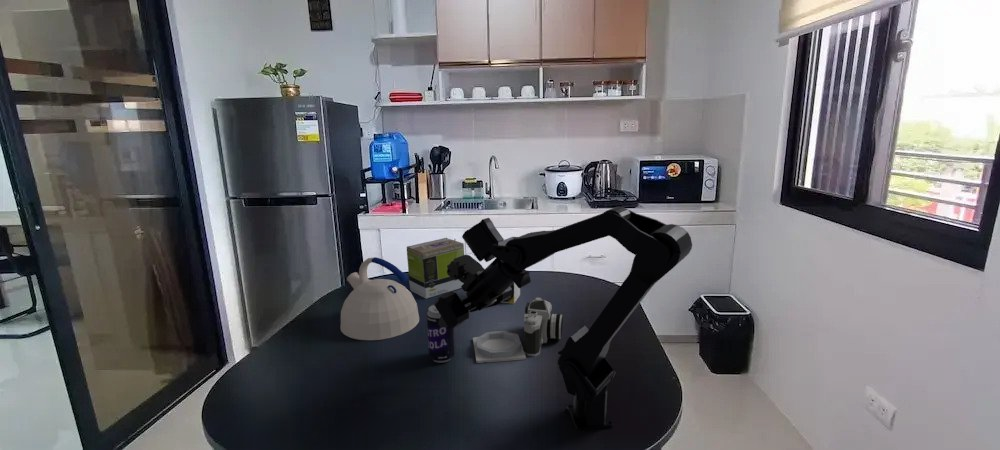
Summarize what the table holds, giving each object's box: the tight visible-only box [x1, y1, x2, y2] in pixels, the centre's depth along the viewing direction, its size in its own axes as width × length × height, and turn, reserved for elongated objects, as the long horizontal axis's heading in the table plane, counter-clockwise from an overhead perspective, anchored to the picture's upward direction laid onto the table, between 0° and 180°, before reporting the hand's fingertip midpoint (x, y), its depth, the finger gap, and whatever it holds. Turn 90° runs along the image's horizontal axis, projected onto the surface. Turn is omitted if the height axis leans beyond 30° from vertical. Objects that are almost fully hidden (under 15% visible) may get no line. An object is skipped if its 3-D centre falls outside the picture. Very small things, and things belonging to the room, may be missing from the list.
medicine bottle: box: [500, 283, 521, 305], centre depth 135 cm, size 7×7×12 cm
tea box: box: [406, 237, 465, 300], centre depth 143 cm, size 15×10×15 cm
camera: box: [523, 297, 564, 357], centre depth 109 cm, size 16×9×10 cm, turn 168°
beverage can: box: [426, 304, 455, 364], centre depth 102 cm, size 6×6×12 cm
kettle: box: [340, 257, 420, 341], centre depth 119 cm, size 20×21×18 cm
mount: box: [472, 330, 527, 364], centre depth 106 cm, size 11×11×2 cm
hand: (455, 317), depth 98 cm, fingers open, 9 cm apart
